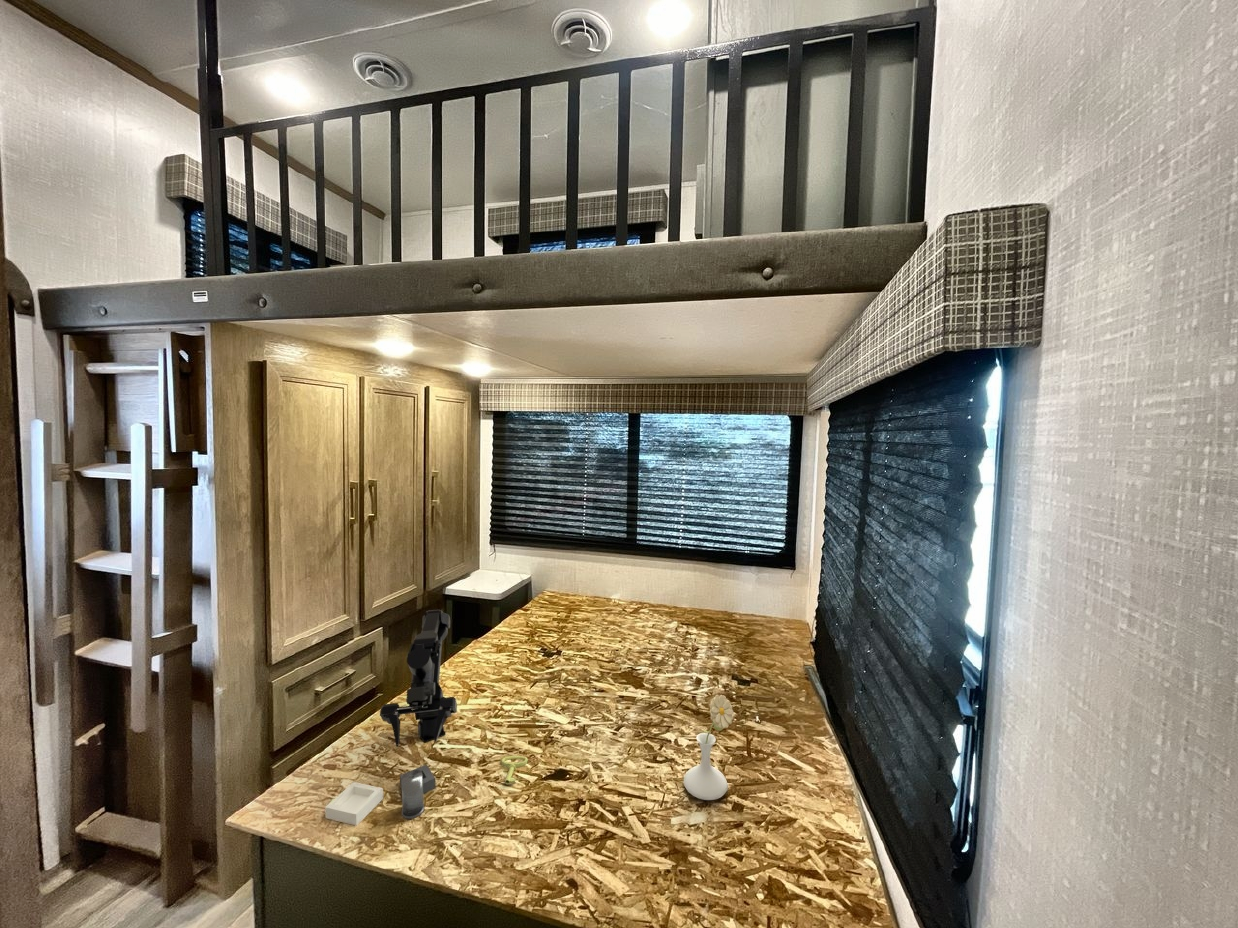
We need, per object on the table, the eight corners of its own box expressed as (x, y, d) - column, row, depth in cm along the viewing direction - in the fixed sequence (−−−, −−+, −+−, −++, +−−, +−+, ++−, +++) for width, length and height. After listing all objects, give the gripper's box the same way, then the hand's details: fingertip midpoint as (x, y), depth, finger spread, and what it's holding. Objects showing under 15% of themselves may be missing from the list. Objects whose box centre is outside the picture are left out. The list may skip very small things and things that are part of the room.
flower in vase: (694, 809, 125) (695, 712, 123) (676, 778, 136) (677, 689, 134) (741, 798, 128) (743, 703, 126) (720, 769, 139) (721, 682, 137)
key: (505, 789, 132) (504, 781, 132) (500, 760, 144) (500, 753, 144) (532, 783, 134) (532, 775, 134) (526, 755, 146) (525, 748, 146)
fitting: (420, 800, 128) (419, 766, 127) (427, 812, 124) (426, 777, 123) (399, 809, 125) (397, 775, 124) (405, 822, 120) (403, 786, 120)
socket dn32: (427, 773, 137) (426, 764, 137) (435, 788, 132) (435, 778, 132) (400, 785, 133) (399, 775, 133) (407, 800, 128) (407, 789, 127)
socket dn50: (353, 792, 131) (353, 781, 130) (383, 798, 128) (382, 788, 128) (325, 818, 122) (325, 807, 122) (356, 825, 120) (356, 814, 119)
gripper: (380, 675, 132) (370, 741, 122) (454, 667, 136) (451, 731, 126) (388, 689, 140) (379, 751, 130) (458, 681, 144) (455, 742, 134)
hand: (416, 744), depth 130 cm, fingers open, 9 cm apart
